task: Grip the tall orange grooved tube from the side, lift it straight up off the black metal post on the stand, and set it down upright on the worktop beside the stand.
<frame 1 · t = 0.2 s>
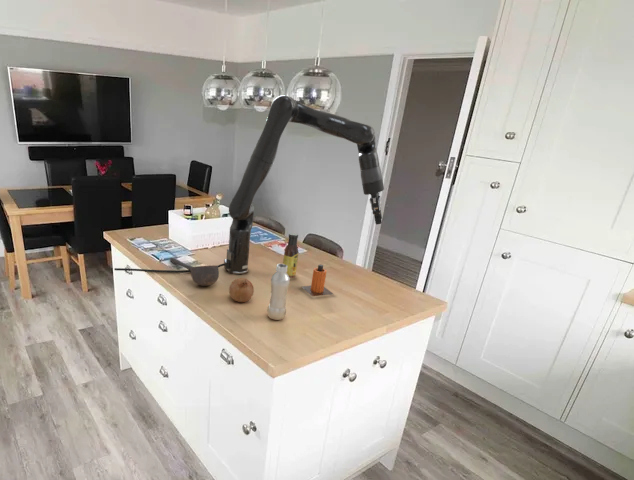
hand: (378, 221, 162), 31 cm above the counter, tool tilted 20°, fingers open, 8 cm apart
ladle: (189, 274, 182), on the counter
orange grooved tube: (316, 290, 173), point 1 cm above the counter, touching ring stand
sauce bottle: (288, 277, 187), on the counter
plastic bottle: (275, 318, 150), on the counter
onion: (240, 300, 161), on the counter
ring stand: (316, 292, 174), on the counter
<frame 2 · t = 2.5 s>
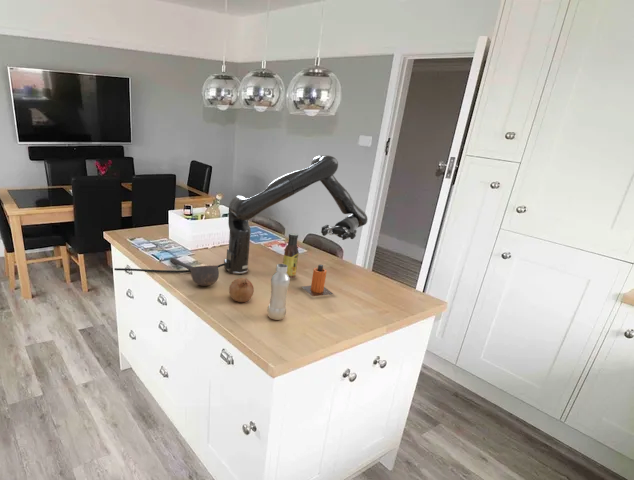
hand: (333, 235, 173), 22 cm above the counter, tool horizontal, fingers open, 8 cm apart
nothing on the counter moved.
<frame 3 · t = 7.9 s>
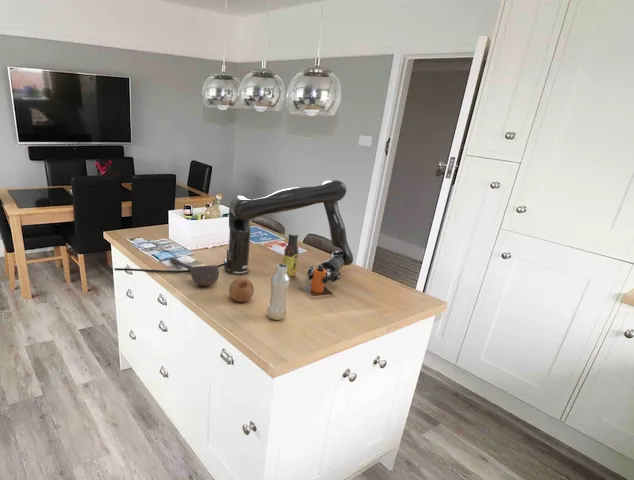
hand: (316, 279, 169), 7 cm above the counter, tool horizontal, fingers closed on orange grooved tube, 5 cm apart
orange grooved tube: (316, 290, 173), point 1 cm above the counter, touching gripper, ring stand
everything else where it was.
when the fingers open (6 cm above the counter, at t = 18.1 s): orange grooved tube stays where it is, on the counter.
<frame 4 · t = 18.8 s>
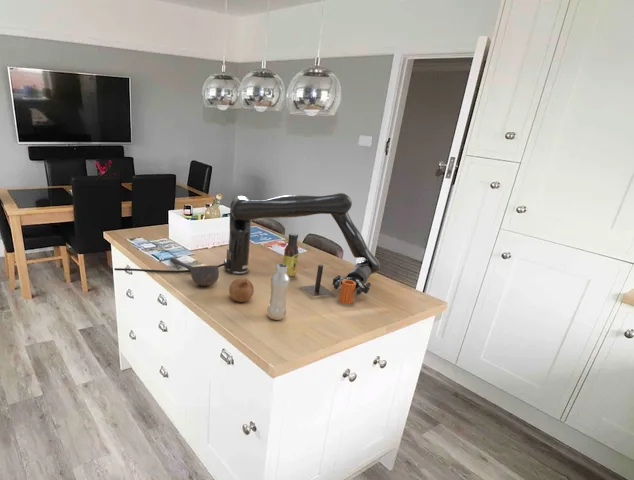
hand: (346, 289, 162), 6 cm above the counter, tool horizontal, fingers open, 8 cm apart
orange grooved tube: (345, 303, 166), on the counter
everything else where it was.
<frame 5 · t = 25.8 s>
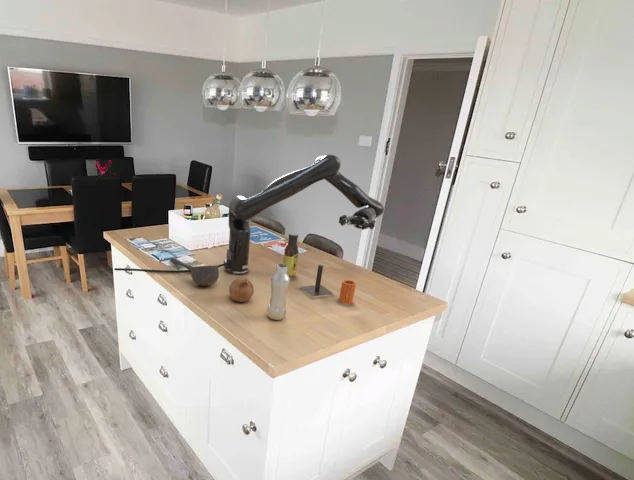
hand: (352, 225, 167), 28 cm above the counter, tool horizontal, fingers open, 8 cm apart
nothing on the counter moved.
at the end: orange grooved tube inside the target area (0.1 cm from its centre), on the counter; orange grooved tube tilted 0°; the gripper is holding nothing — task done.
